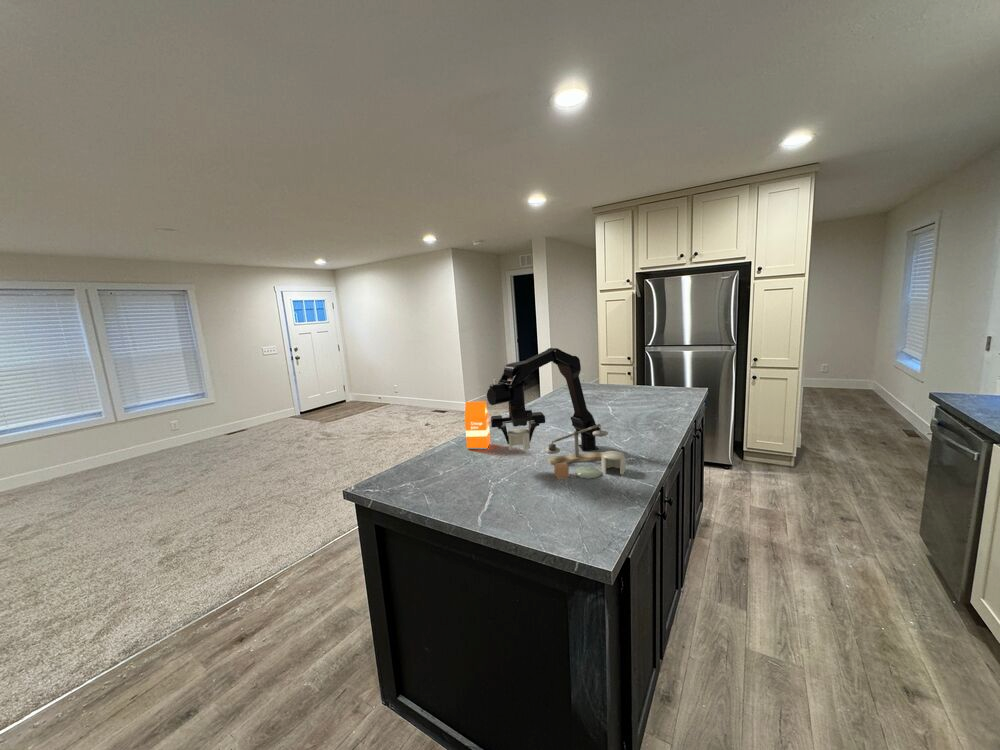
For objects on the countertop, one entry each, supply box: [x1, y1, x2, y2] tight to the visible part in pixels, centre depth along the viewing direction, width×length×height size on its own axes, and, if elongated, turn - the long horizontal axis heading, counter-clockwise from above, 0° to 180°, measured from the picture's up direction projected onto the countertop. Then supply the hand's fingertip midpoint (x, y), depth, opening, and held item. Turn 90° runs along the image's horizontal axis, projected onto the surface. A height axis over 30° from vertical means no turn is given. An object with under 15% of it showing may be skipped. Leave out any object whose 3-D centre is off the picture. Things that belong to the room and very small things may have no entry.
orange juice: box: [464, 401, 491, 449], centre depth 170 cm, size 8×9×20 cm
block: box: [553, 463, 570, 480], centre depth 136 cm, size 4×4×4 cm
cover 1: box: [507, 427, 531, 451], centre depth 141 cm, size 7×7×6 cm
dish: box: [574, 466, 602, 480], centre depth 137 cm, size 9×9×1 cm
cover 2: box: [601, 450, 626, 475], centre depth 137 cm, size 7×7×6 cm
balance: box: [544, 423, 609, 465], centre depth 149 cm, size 24×6×13 cm, turn 94°
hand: (518, 443), depth 141 cm, fingers closed on cover 1, 7 cm apart
